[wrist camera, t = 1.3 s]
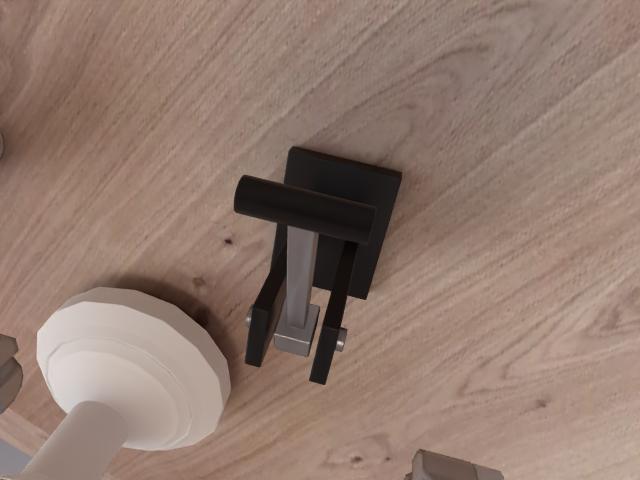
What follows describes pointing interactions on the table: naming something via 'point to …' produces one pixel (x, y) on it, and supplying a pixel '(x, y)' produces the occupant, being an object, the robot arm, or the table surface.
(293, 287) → the lever
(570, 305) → the table surface
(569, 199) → the table surface
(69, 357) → the candle holder
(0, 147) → the coffee cup
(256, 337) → the bracket
